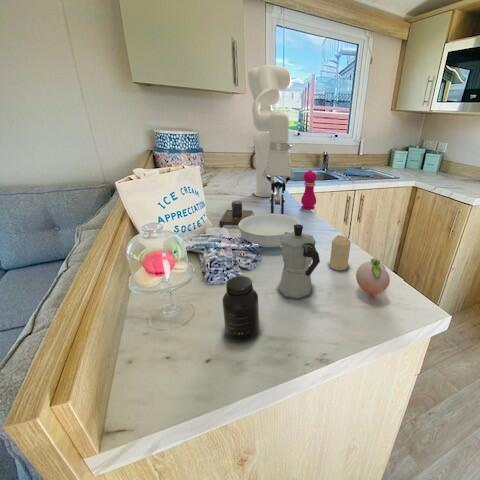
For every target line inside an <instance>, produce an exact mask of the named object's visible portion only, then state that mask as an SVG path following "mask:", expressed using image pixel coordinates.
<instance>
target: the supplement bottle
mask: <svg viewBox="0 0 480 480" xmlns="http://www.w3.org/2000/svg"><path fill="white" fill-rule="evenodd" d="M225 286H226V292H225V293H224V294H223V297H222V310H223V311H222V312H223V317H224V318H223V319H224V320H223V321H224V329H225V334H226V335H227V337H228V338H230V339H231V340H233V341H237V342H243V341H247V340H250V339H251V338H253V337H255V336H256V334H257V333H258V332H259V329H260V310H259V309H260V308H259V294H258V292H257V291H256V290H255V289H254V285H253V280H252V279H251V278H250V277H249V276H246V275H237V276H234V277H231V278H229V279H228V280H227V281H226V285H225Z"/></svg>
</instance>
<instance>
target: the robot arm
mask: <svg viewBox="0 0 480 480" xmlns="http://www.w3.org/2000/svg"><path fill="white" fill-rule="evenodd" d="M247 81H248V87H249V89H250V93H251V96H252V98H253V102H252V108H251V109H252V110H251V111H252V113H251V114H252V120H253V125H254V126H253V127H254V128H255V129H256V130H257V131H259V132H257V133H256V134H254V135H253V147H254V152H255V153H254V154H255V180H256V182H255V183H256V190H254V191H253V195H254V196H255V197H260V198H271V194H274V197H275V196H276V194H277V190H276V187H275V182H276V181H275V177H282V182H281V183H282V187H281V193H282V194H284V193H285V192H286V184H287V183H288V182H289V181H291V180H292V179H293V178H295V177H296V176H295V174H294V172H293V170H292V156H291V150H289V149H293V145H292V144H290V143H289V136H290V135H289V134H290V116H289V115H288V114H287V113H285V112H283V111H281V110H273V105H276V104H277V103H278V102H280V100H281V96H282V93H281V91H286V90H288V89H290V87H291V84H292V76H291V72H290V70H289V69H288V68H287V67H286V66H279V65H274V64H273V65H272V64H262V65H260V66H255V67H251V68H250V69H248V73H247Z"/></svg>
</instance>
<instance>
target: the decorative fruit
mask: <svg viewBox="0 0 480 480" xmlns="http://www.w3.org/2000/svg"><path fill="white" fill-rule="evenodd" d="M355 280H356V283H357V285H358V287H359V288H360V290H362V291H364V292H366V294H368V295H379V294H381V293H383V292H384V291H386V290H387V289H388V287H389V286H390V282H391V277H390V274H389V272H388V270H387V269H386V266H385V265H384V264H383V263H381V261H380V259H378V258H375V257H371V259H370V260H368V261H366V262H363V263H361V264H360V265H359V266H358V268H357V270H356V274H355Z"/></svg>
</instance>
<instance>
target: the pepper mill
mask: <svg viewBox="0 0 480 480" xmlns="http://www.w3.org/2000/svg"><path fill="white" fill-rule="evenodd" d="M317 179H318V175H317V173H316V172H315V171H313V168H312V167H309V168H308V170H307V171H305V172H304V174H303V180H304V183H303V185H304V192H303V194H302V196H301V199H300V203H301V204H302V205H301V208H302V209H303V210H307V211H312V210H315V209H316V207H315V205H316V204H317V197H316V195H315V186H316V181H317Z"/></svg>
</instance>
